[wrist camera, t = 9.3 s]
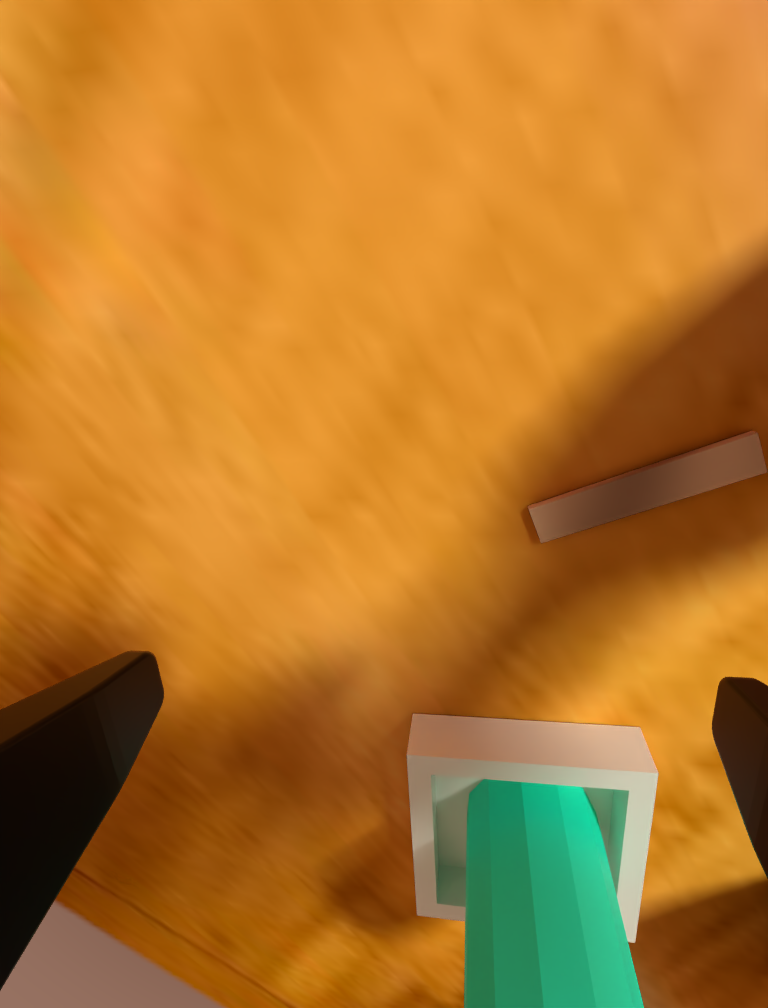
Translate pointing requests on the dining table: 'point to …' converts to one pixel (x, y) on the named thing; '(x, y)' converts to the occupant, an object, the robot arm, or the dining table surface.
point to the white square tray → (534, 759)
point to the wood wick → (650, 486)
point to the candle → (541, 903)
